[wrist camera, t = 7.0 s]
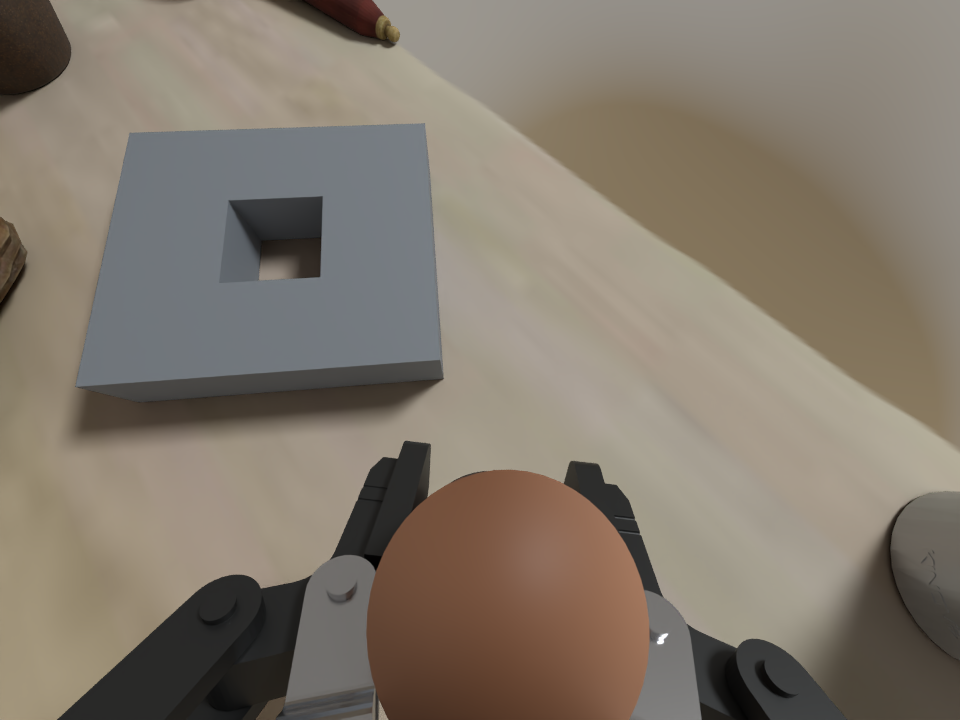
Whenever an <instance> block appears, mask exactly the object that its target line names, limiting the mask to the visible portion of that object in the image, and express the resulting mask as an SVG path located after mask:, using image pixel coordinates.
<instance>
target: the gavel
mask: <svg viewBox="0 0 960 720" xmlns="http://www.w3.org/2000/svg"><path fill="white" fill-rule="evenodd" d="M304 1H306V2H308V3H309V4H311V5H312V6H314V7H316V8H317V9H319V10H321V11H322V12H324V13H326V14H327V15H329V16H331V17H332V18H334V19H335V20H337V21H339V22H340V23H342V24H344V25H345V26H347V27H349V28H350V29H352V30H354V31H355V32H357V33H359V34H360V35H364V36H369V37H375V38H379V39H381V40H385V39H387V38H388V39H389V40H390V41H392V42H397V41H398V40H399V37H400V33H399V31H398V29H397V28H396V27H394V26H391V23H390V21H389V19H388V18H387V17H386V16H384V14H383V13H382V12H381V11H380V9H379V8H378V7H377V6H376V4H375V3H374V2H373V1H372V0H304Z"/></svg>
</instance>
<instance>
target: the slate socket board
mask: <svg viewBox="0 0 960 720" xmlns="http://www.w3.org/2000/svg"><path fill="white" fill-rule="evenodd" d="M320 237H322V240H321V273H320V277H315V278H298V279H281V280H263V281H258V280H259V267H260V255H261V243H262V240H281V239H300V238H320ZM434 379H444V378H443V363H442V348H441V333H440V318H439V303H438V288H437V273H436V258H435V243H434V228H433V213H432V198H431V183H430V169H429V159H428V150H427V140H426V130H425V123H424V124H393V125H362V126H331V127H300V128H268V129H237V130H206V131H175V132H144V133H130V134H129V139H128V143H127V148H126V153H125V157H124V162H123V167H122V171H121V176H120V181H119V185H118V190H117V195H116V199H115V204H114V209H113V213H112V218H111V223H110V227H109V232H108V237H107V241H106V246H105V251H104V255H103V260H102V265H101V269H100V274H99V279H98V283H97V288H96V293H95V297H94V302H93V307H92V311H91V316H90V321H89V325H88V330H87V335H86V339H85V344H84V349H83V353H82V358H81V363H80V367H79V372H78V377H77V381H76V386H75V387H78V388H82V389H86V390H90V391H94V392H99V393H103V394H107V395H111V396H115V397H119V398H123V399H127V400H131V401H135V402H150V401H163V400H176V399H189V398H202V397H215V396H228V395H241V394H253V393H266V392H279V391H292V390H305V389H318V388H331V387H344V386H357V385H370V384H383V383H395V382H408V381H421V380H434Z"/></svg>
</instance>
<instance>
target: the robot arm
mask: <svg viewBox="0 0 960 720" xmlns="http://www.w3.org/2000/svg"><path fill="white" fill-rule="evenodd" d="M430 454H431V444H428V443H419V442H411V441H405V442H404V444H403V446H402V449H401V452H400V455H399V457H398V459H395V458H387V457H383V458H382V459H381V460H380V461H379V462H378V463H377V464H376V465H375V466H374V467H372V468H371V469H370V471H369V474H368V476H367V478H366V481H365V483H364V487H363V488H362V490H361V492H360V495H359V497H358V501H357V502H356V504H355V506H354V509H353V511H352V513H351V515H350V518H349V520H348V522H347V525H346V527H345V529H344V532H343V534H342V536H341V539H340V541H339V543H338V546H337V548H336V550H335V552H334V554H333V556H332V557H331V559H330V560H329V561H327V562H326V563H324V564H323V565H321V566H320V567H319V568H318V569H317V570H316V571H315V572H314V574H313V575H311V576H309V577H307V578H305V579H303V580H300V581H296V582H293V583H288V584H283V585H278V586H273V587H268V588H263V589H261V588H260V586H259V584H258V583H257V582H256V581H255V580H254V579H253V578H251V577H248V576H245V575H229V576H225V577H221V578H219V579H216V580H214V581H212V582H210V583H208V584H207V585H205V586H204V587H202V588H201V589H199V590H198V591H197V592H196V593H195V594H193V595H192V596H191V597H190V598H189V599H188V600H187V601H186V602H185V603H184V604H183V605H181V606H180V607H179V608H178V609H177V610H176V611H175V612H174V613H173V614H172V615H171V616H170V617H168V618H167V619H166V620H165V621H164V622H163V623H162V624H161V625H160V626H159V627H158V628H156V629H155V630H154V631H153V632H152V633H151V634H150V635H149V636H148V637H147V638H146V639H144V640H143V641H142V642H141V643H140V644H139V645H138V646H137V647H136V648H135V649H134V650H133V651H131V652H130V653H129V654H128V655H127V656H126V657H125V658H124V659H123V660H122V661H121V662H119V663H118V664H117V665H116V666H115V667H114V668H113V669H112V670H111V671H110V672H109V673H107V674H106V675H105V676H104V677H103V678H102V679H101V680H100V681H99V682H98V683H97V684H95V685H94V686H93V687H92V688H91V689H90V690H89V691H88V692H87V693H86V694H85V695H84V696H82V697H81V698H80V699H79V700H78V701H77V702H76V703H75V704H74V705H73V706H72V707H70V708H69V709H68V710H67V711H66V712H65V713H64V714H63V715H62V716H61V717H60V718H58V719H57V720H255V719H256V718H257V716H258V715H259V713H260V712H261V711H262V709H263V708H264V707H265V705H266V704H267V702H268V701H269V700H273V699H276V698H280V697H284V696H286V700H285V704H284V707H283V710H282V712H281V713H280V714H279V715H278V716H277V718H276V720H379V698H378V695H377V692H376V688H375V685H374V682H373V679H372V675H371V670H370V664H369V659H368V651H367V637H366V629H367V610H368V604H369V598H370V592H371V588H372V584H373V581H374V577H375V574H376V570H377V568H378V566H379V563H380V561H381V558H382V556H383V553H384V551H385V550H386V548H387V546H388V544H389V542H390V541H391V539H392V537H393V535H394V534H395V532H396V531H397V530H398V528H399V527H400V526H401V524H402V523H403V521H404V520H405V519H406V518H407V517H408V516H409V515H410V514H411V512H412V511H413V510H414V509H415V508H416V507H417V506H418V505H419V504H421V503H422V502H423V501H424V500H425V499H427V496H428V489H429V474H430ZM564 484H565V485H566V486H568V487H570V488H572V489H574V490H575V491H577V492H578V493H580V494H581V495H582V496H584V497H585V498H586V499H588V500H589V501H590V502H591V503H592V504H593V505H595V506H596V507H597V508H598V509H599V510H600V511H601V512H602V513H603V514H604V515H605V516H606V518H607V519H608V520H609V521H610V522H611V524H612V525H613V526H614V527H615V529H616V530H617V532H618V533H619V535H620V536H621V538H622V539H623V541H624V542H625V544H626V546H627V548H628V550H629V552H630V554H631V556H632V558H633V560H634V562H635V565H636V567H637V570H638V573H639V575H640V578H641V581H642V585H643V589H644V593H645V597H646V602H647V609H648V617H649V641H650V642H649V653H648V664H647V668H646V673H645V678H644V683H643V686H642V689H641V692H640V695H639V698H638V701H637V704H636V706H635V708H634V710H633V713H632V715H631V717H630V719H629V720H847V719H846V718H845V717H844V715H843V714H842V713H841V712H840V711H839V709H838V708H837V707H836V706H835V705H834V703H833V702H832V701H831V700H830V699H829V697H828V696H827V695H826V694H825V693H824V691H823V690H822V689H821V688H820V687H819V685H818V684H817V683H816V682H815V681H814V680H813V678H812V677H811V676H810V675H809V674H808V672H807V671H806V670H805V669H804V668H803V667H802V666H801V664H800V663H799V662H797V661H796V660H795V659H794V658H793V657H792V656H791V655H789V654H788V653H787V652H786V651H784V650H783V649H781V648H779V647H778V646H776V645H774V644H772V643H770V642H767V641H764V640H760V639H748V640H745V641H743V642H742V643H741V644H740V645H739V646H738V648H735V647H733V646H730V645H728V644H726V643H724V642H721V641H719V640H717V639H715V638H712V637H710V636H708V635H706V634H703V633H701V632H699V631H697V630H695V629H694V628H692V627H691V626H689V625H688V624H686V622H685V620H684V618H683V617H682V615H681V614H680V613H679V611H678V610H677V609H676V608H675V607H674V606H673V605H672V604H671V603H670V602H669V601H667V600H666V599H665V598H663V596H662V593H661V591H660V588H659V586H658V583H657V580H656V577H655V574H654V571H653V568H652V565H651V563H650V560H649V557H648V554H647V551H646V548H645V545H644V542H643V540H642V537H641V535H640V531H639V528H638V525H637V522H636V521H635V517H634V514H633V511H632V508H631V505H630V502H629V500H628V499H627V498H626V496H625V495H624V494H623V493H622V491H621V490H620V489H619V488H618V486H617V485H612V484H605V483H604V479H603V476H602V472H601V469H600V466H599V465H598V464H595V463H586V462H578V461H571V462H570V464H569V467H568V470H567V474H566V478H565V481H564ZM890 550H891V562H892V569H893V573H894V577H895V581H896V584H897V587H898V590H899V592H900V594H901V596H902V598H903V601H904V603H905V605H906V607H907V608H908V610H909V611H910V613H911V615H912V616H913V618H914V619H915V621H916V622H917V624H918V625H919V626H920V627H921V628H922V630H923V631H924V632H925V633H926V634H927V635H928V636H929V638H930V639H931V640H932V641H933V642H934V643H936V644H937V645H938V646H939V647H940V648H942V649H943V650H944V651H945V652H946V653H948V654H949V655H950V656H952V657H954V658H955V659H957V660H959V661H960V492H949V491H945V492H934V493H929V494H926V495H923V496H921V497H918V498H916V499H915V500H914V501H912V502H911V503H910V504H908V505H907V506H906V507H905V508H904V510H903V511H902V513H901V514H900V515H899V517H898V518H897V521H896V524H895V526H894V529H893V532H892V539H891V548H890Z"/></svg>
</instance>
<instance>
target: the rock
mask: <svg viewBox="0 0 960 720" xmlns="http://www.w3.org/2000/svg"><path fill="white" fill-rule="evenodd" d="M26 255H27V251H26V249H25V248H24V246H23V245H22V243H21V240H20V238H19V236H18V234H17V232H16V230H15V227H14V225H13V224H12V223H9V222H7V221H5V220H4V219H3V218H2V217H0V303H1V301H2V300H3V298H4V297H5V295H6V293H7V292H8V290H9V289H10V287H11V286H12V284H13V283H14V281H15V279H16V278H17V276H18V274H19V272H20V270H21V269H22V267H23V265H24V263H25V260H26Z"/></svg>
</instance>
